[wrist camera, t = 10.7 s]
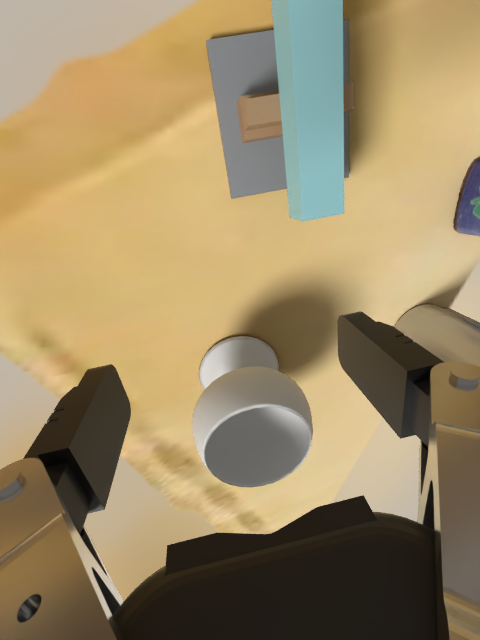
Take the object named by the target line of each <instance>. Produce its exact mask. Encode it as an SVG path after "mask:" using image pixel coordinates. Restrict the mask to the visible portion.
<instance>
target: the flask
mask: <svg viewBox="0 0 480 640" xmlns="http://www.w3.org/2000/svg"><path fill="white" fill-rule="evenodd" d="M453 222H454V230H455V231H457V232H458V233H462V234H469V235H476V236H480V158H477V159H475V160H474V161H473V162H472V163H471V164H470V167H469V168H468V170H467V173H466V176H465V178H464V180H463V184H462V185H461V189H460V193H459V199H458V202H457V207H456V212H455V218H454V221H453Z"/></svg>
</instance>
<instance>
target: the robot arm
mask: <svg viewBox="0 0 480 640" xmlns="http://www.w3.org/2000/svg"><path fill="white" fill-rule="evenodd" d="M338 356H339V361H340V364H341V366H342V368H343V370H344V371H345V372H346V373H347V375H348V376H349V377H350V378H351V379H352V381H353V382H354V383H355V384H356V385H357V387H358V388H359V389H360V390H361V391H362V393H363V394H364V395H365V396H366V397H367V399H368V400H369V401H370V402H371V404H372V405H373V406H374V407H375V408H376V410H377V411H378V412H379V413H380V414H381V416H382V417H383V418H384V419H385V420H386V422H387V423H388V424H389V425H390V427H391V428H392V429H393V430H394V431H395V433H397V435H398V436H399V437H400V438H404V437H408V436H412V435H417V436H418V437H419V439H420V440H421V441H420V449H419V505H418V520H417V522H415V521H413V520H410V519H407V518H404V517H401V516H397V515H393V514H387V513H381V512H372V510H371V508H370V506H369V505H368V503H367V501H366V499H365V497H364V496H359V497H355V498H351V499H347V500H343V501H340V502H336V503H332V504H328V505H324V506H320V507H317V508H315V509H313V510H311V511H310V512H308V513H306V514H305V515H303V516H301V517H300V518H298V519H296V520H295V521H293V522H291V523H290V524H288V525H286V526H284V527H283V528H281V529H279V530H278V531H276V532H274V533H271V534H239V533H214V534H210V535H207V536H203V537H198V538H195V539H191V540H187V541H183V542H179V543H175V544H171V545H168V546H167V557H166V566H164V567H162V568H161V569H159V570H158V571H156V572H155V573H154V574H152V575H151V576H149V577H148V578H147V579H146V580H145V581H144V582H142V583H141V584H140V585H139V586H138V587H137V588H136V589H135V590H134V591H133V592H132V593H131V594H130V595H129V597H127V599H126V600H125V601H123V599H122V597H121V596H120V594H119V592H118V590H117V589H116V587H115V585H114V583H113V581H112V579H111V577H110V576H109V573H108V571H107V569H106V567H105V565H104V563H103V562H102V559H101V557H100V555H99V553H98V551H97V549H96V548H95V546H94V544H93V542H92V539H91V537H90V535H89V534H88V532H87V530H86V528H85V527H84V522H85V519H86V516H87V514H88V513H92V512H96V511H100V510H104V509H105V506H106V503H107V499H108V496H109V492H110V488H111V485H112V481H113V478H114V474H115V470H116V467H117V463H118V460H119V456H120V453H121V449H122V445H123V442H124V438H125V435H126V431H127V427H128V424H129V420H130V415H131V408H130V402H129V399H128V397H127V394H126V392H125V390H124V387H123V385H122V382H121V380H120V378H119V375H118V373H117V370H116V368H115V367H114V366H113V365H106V366H101V367H97V368H92V369H88V370H87V371H86V373H85V374H84V376H83V378H82V380H81V381H80V383H79V385H78V386H77V387H74V388H72V389H71V390H70V391H69V392H68V393H67V394H66V395H65V396H64V397H63V398H61V400H60V401H59V403H58V405H57V406H56V408H55V409H54V413H52V415H51V416H50V417H49V419H48V421H47V424H45V425H44V427H43V428H42V430H41V432H40V433H39V435H38V436H37V438H36V440H35V441H34V443H33V444H32V446H31V447H30V449H29V451H28V452H27V454H26V455H25V457H24V458H23V459H21V460H19V461H16V462H14V463H11V464H9V465H8V466H6V467H4V468H2V469H1V470H0V640H480V323H479V322H477V321H475V320H473V319H471V318H469V317H466V316H464V315H462V314H460V313H458V312H456V311H454V310H452V309H449V308H445V309H443V308H441V307H438V306H436V305H432V304H424V305H419V306H417V307H415V308H413V309H411V310H409V311H408V312H407V313H405V314H404V315H403V316H402V317H401V318H400V319H399V321H398V322H397V324H396V325H395V327H393V326H390V325H387V324H384V323H381V322H375V321H374V320H372V319H371V318H370V317H368V316H367V315H366V314H364V313H363V312H356V313H351V314H347V315H342V316H339V318H338Z"/></svg>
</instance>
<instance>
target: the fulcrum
mask: <svg viewBox="0 0 480 640" xmlns="http://www.w3.org/2000/svg"><path fill="white" fill-rule="evenodd" d="M206 46H207V53H208V59H209V65H210V71H211V77H212V83H213V89H214V96H215V102H216V108H217V114H218V120H219V126H220V133H221V139H222V145H223V151H224V157H225V163H226V170H227V176H228V182H229V188H230V194H231V198H232V199H233V198H238V197H244V196H249V195H255V194H260V193H266V192H271V191H276V190H282V189H287V181H286V169H285V157H284V145H283V133H282V121H281V109H280V97H279V85H278V73H277V61H276V49H275V37H274V30H269V31H263V32H256V33H249V34H242V35H236V36H229V37H222V38H216V39H209V40H207V41H206ZM343 104H344V178H347V177H349V110H351V109H353V108H354V81H353V82H349V28H348V19H343Z"/></svg>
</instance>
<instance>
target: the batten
mask: <svg viewBox="0 0 480 640" xmlns="http://www.w3.org/2000/svg"><path fill="white" fill-rule="evenodd" d="M271 2H272V14H273V25H274V37H275V49H276V61H277V73H278V85H279V97H280V109H281V121H282V133H283V145H284V157H285V169H286V181H287V192H288V204H289V216H290V218H293V219H296V220H299V221H307V220H313V219H318V218H323V217H328V216H334V215H339V214H344V104H343V0H271Z"/></svg>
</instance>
